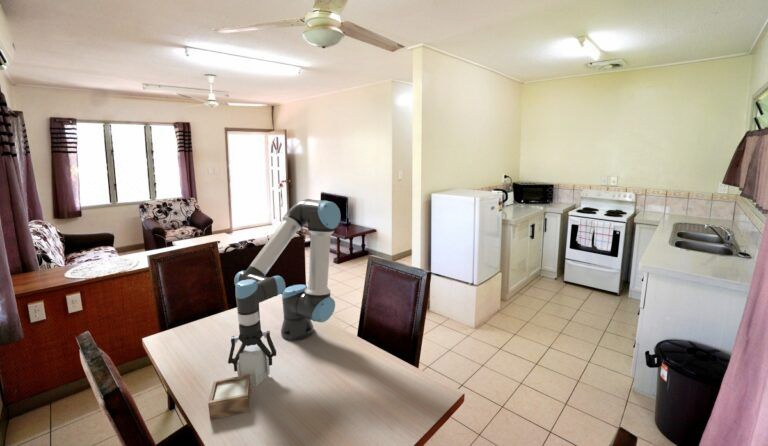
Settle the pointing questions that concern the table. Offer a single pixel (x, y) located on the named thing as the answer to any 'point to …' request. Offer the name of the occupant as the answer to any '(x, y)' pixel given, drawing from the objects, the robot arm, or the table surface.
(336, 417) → the table surface
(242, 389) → the brown square open box
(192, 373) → the table surface
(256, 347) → the supplement box
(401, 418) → the table surface
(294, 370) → the table surface
